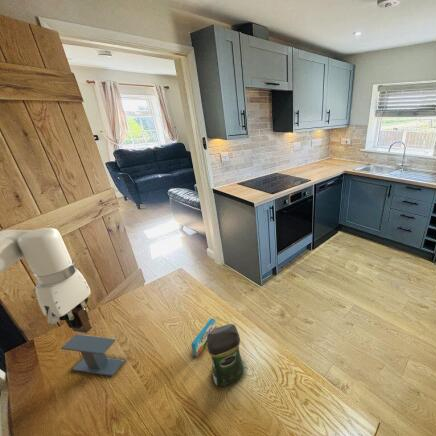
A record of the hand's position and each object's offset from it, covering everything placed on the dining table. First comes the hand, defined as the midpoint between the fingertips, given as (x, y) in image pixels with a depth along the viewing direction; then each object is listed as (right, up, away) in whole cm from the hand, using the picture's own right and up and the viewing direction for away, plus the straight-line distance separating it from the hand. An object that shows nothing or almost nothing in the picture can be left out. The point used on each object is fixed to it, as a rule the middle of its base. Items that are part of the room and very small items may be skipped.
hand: (79, 323), depth 71 cm
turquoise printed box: (+32, -15, +17) cm, 39 cm away
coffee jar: (+43, -19, +7) cm, 47 cm away
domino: (0, -2, +1) cm, 3 cm away
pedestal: (0, -18, +8) cm, 19 cm away
